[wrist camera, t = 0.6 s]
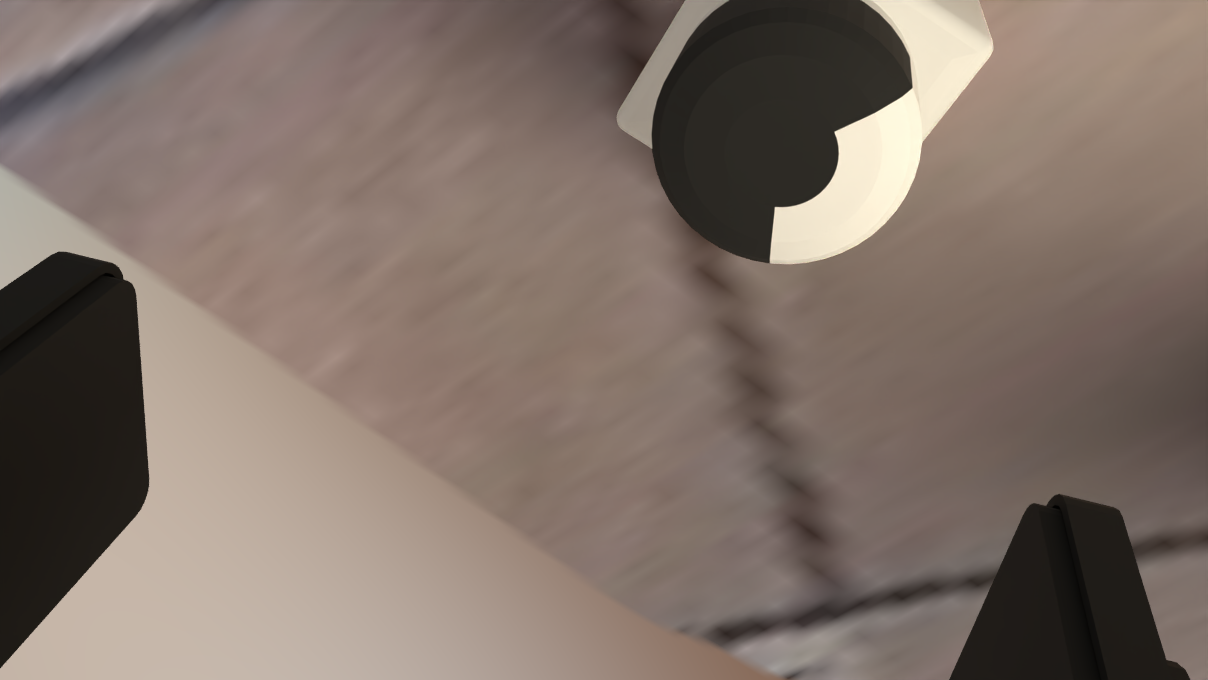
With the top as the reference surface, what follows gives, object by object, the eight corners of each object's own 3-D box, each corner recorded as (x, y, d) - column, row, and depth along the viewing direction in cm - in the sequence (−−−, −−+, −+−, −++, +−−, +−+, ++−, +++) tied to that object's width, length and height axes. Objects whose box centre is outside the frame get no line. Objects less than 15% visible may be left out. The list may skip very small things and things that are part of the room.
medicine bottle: (653, 55, 37) (566, 193, 26) (777, -150, 33) (732, -82, 23) (837, 172, 37) (821, 352, 27) (978, -16, 34) (1023, 109, 23)
